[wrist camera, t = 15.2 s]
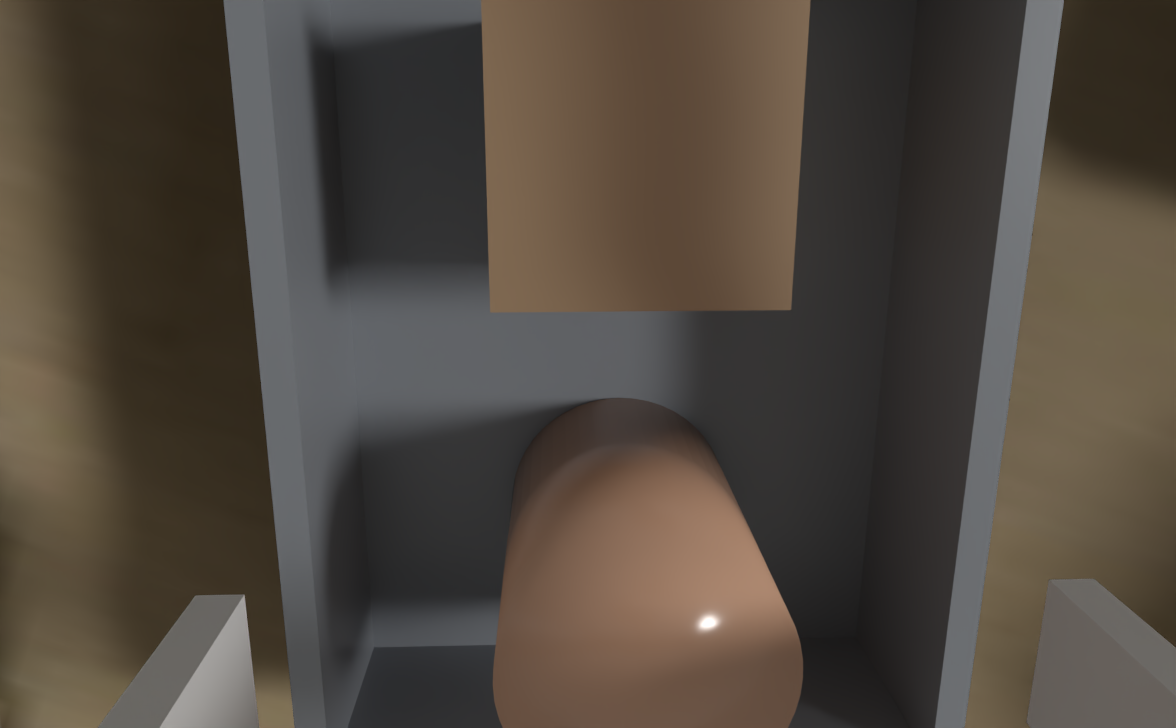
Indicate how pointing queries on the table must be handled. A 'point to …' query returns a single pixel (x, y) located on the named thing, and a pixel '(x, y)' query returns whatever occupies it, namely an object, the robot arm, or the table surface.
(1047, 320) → the table surface
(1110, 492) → the table surface
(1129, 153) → the table surface
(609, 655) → the glossy tan capsule
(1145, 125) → the table surface
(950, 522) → the tote
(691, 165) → the walnut cube
